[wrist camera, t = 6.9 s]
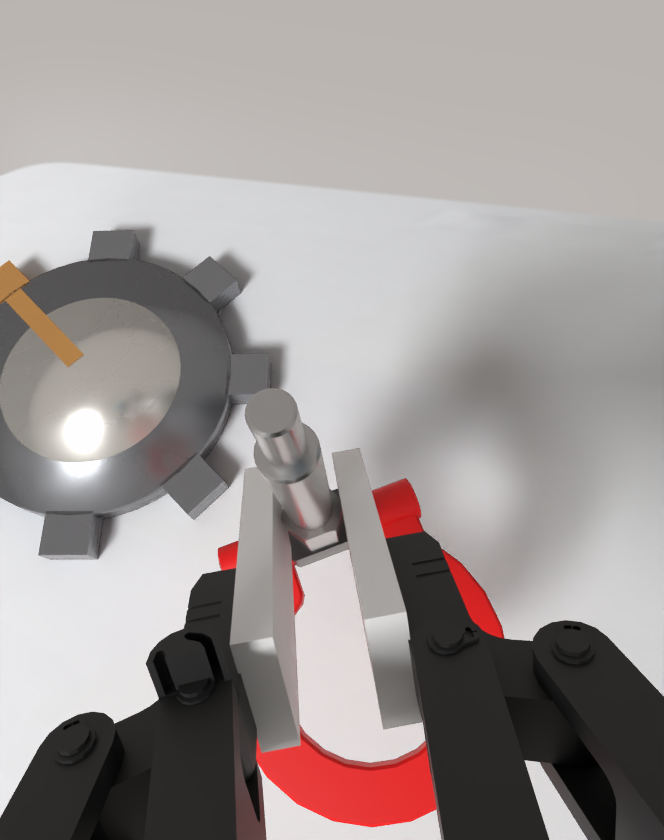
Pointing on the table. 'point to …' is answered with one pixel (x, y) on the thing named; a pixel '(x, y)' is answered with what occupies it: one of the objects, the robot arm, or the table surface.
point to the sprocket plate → (114, 389)
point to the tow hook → (310, 541)
